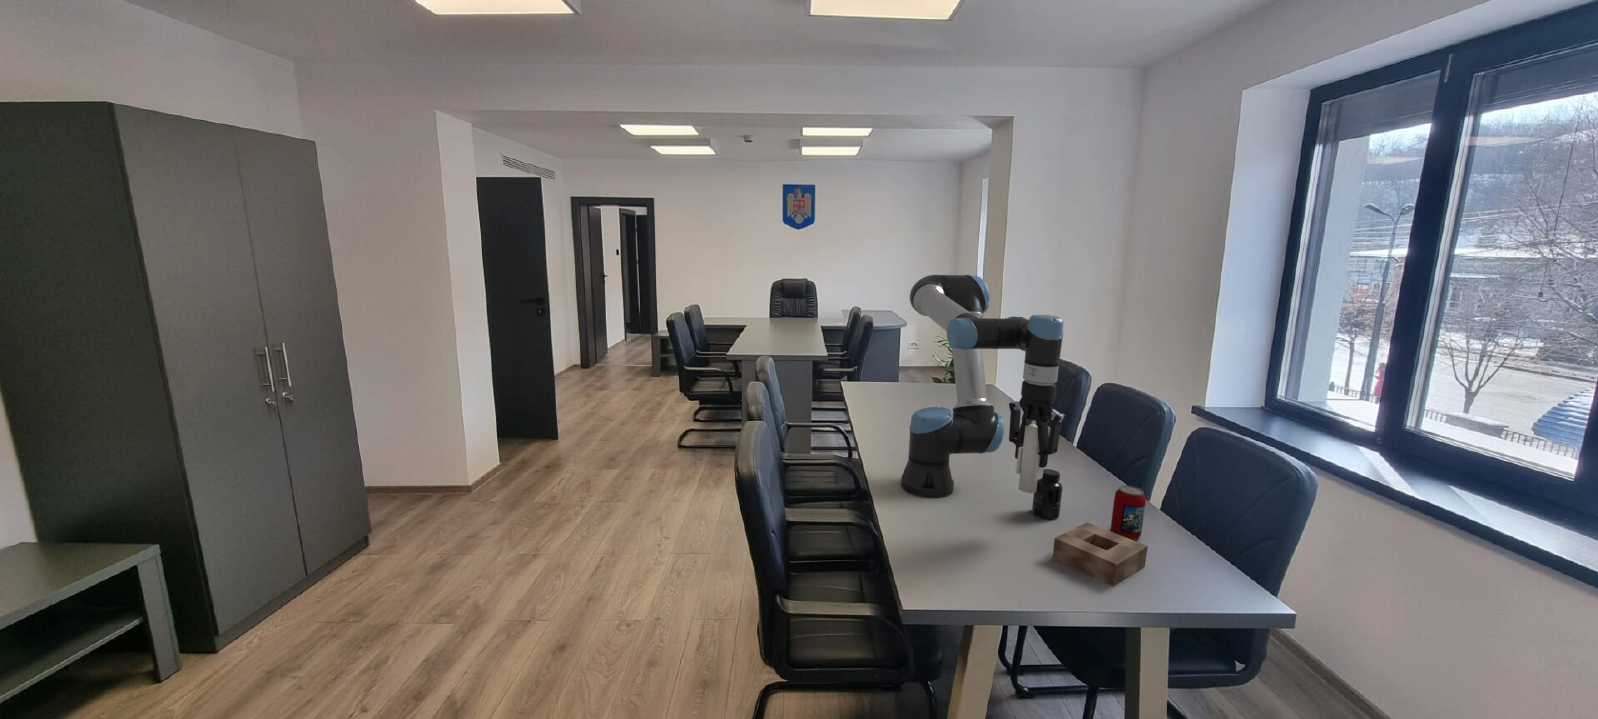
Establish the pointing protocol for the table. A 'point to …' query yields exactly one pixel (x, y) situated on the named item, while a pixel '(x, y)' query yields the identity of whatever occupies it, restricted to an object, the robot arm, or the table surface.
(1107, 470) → the table surface
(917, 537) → the table surface
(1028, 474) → the dowel
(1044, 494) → the supplement bottle
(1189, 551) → the table surface
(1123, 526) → the beverage can
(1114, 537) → the socket block
